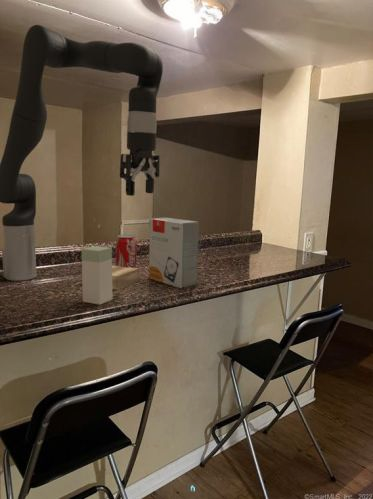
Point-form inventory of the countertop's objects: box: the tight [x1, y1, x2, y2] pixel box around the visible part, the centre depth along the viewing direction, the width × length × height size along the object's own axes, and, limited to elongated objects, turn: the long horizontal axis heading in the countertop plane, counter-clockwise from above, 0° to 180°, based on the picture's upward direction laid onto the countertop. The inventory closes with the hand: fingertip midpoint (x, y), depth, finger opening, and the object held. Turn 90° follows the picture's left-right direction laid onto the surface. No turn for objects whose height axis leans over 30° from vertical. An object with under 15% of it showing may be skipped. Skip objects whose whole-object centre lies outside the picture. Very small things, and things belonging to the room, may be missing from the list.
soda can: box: [115, 234, 138, 269], centre depth 136 cm, size 7×7×13 cm
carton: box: [81, 245, 114, 305], centre depth 103 cm, size 6×6×14 cm
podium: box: [112, 265, 140, 291], centre depth 122 cm, size 12×12×4 cm
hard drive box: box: [148, 217, 200, 289], centre depth 124 cm, size 16×8×20 cm, turn 45°
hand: (140, 194), depth 105 cm, fingers open, 8 cm apart
